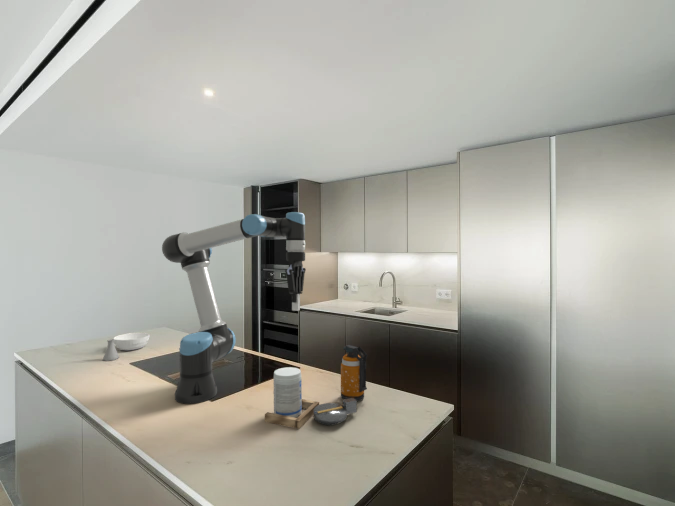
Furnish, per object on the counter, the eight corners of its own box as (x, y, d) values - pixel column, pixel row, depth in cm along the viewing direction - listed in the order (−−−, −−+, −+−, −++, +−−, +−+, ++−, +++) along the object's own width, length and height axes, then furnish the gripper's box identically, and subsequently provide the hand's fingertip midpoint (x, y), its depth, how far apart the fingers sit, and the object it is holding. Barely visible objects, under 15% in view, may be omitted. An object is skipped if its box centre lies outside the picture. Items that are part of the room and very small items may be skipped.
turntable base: (316, 422, 114) (316, 419, 114) (324, 413, 121) (324, 410, 121) (336, 426, 112) (336, 423, 112) (343, 417, 118) (343, 414, 118)
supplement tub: (306, 415, 119) (306, 372, 119) (281, 423, 114) (281, 378, 114) (293, 405, 127) (293, 365, 127) (269, 412, 122) (269, 370, 122)
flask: (113, 361, 179) (113, 341, 179) (99, 361, 179) (99, 341, 179) (122, 357, 186) (122, 338, 186) (108, 357, 186) (108, 338, 186)
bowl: (105, 352, 195) (105, 339, 195) (129, 343, 213) (129, 331, 213) (134, 354, 192) (134, 340, 192) (156, 345, 210) (156, 333, 210)
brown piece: (264, 421, 115) (264, 414, 115) (287, 403, 129) (287, 396, 129) (299, 429, 110) (299, 421, 110) (319, 409, 124) (319, 402, 124)
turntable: (321, 427, 109) (321, 414, 109) (308, 412, 119) (308, 400, 119) (362, 417, 115) (362, 405, 115) (347, 404, 125) (347, 393, 125)
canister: (351, 391, 140) (351, 341, 140) (373, 399, 132) (373, 346, 132) (335, 397, 134) (335, 345, 134) (357, 407, 126) (357, 351, 126)
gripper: (296, 251, 132) (296, 313, 132) (311, 251, 144) (311, 308, 144) (279, 251, 135) (279, 312, 135) (295, 251, 147) (295, 307, 147)
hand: (295, 310), depth 140 cm, fingers closed
